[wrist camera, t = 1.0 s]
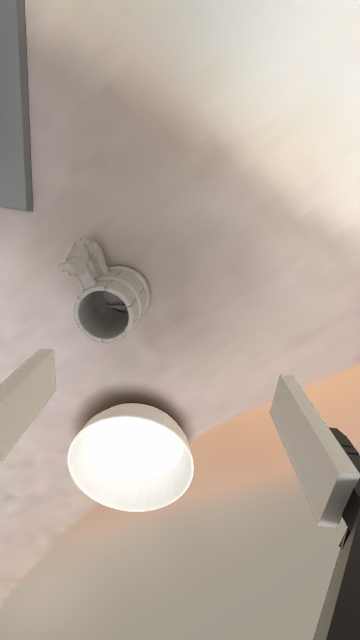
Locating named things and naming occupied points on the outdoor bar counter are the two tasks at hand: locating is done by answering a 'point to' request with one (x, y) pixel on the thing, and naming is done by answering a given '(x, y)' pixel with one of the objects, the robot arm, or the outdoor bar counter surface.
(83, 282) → the mug
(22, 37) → the plinth board
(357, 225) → the outdoor bar counter surface
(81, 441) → the bowl
